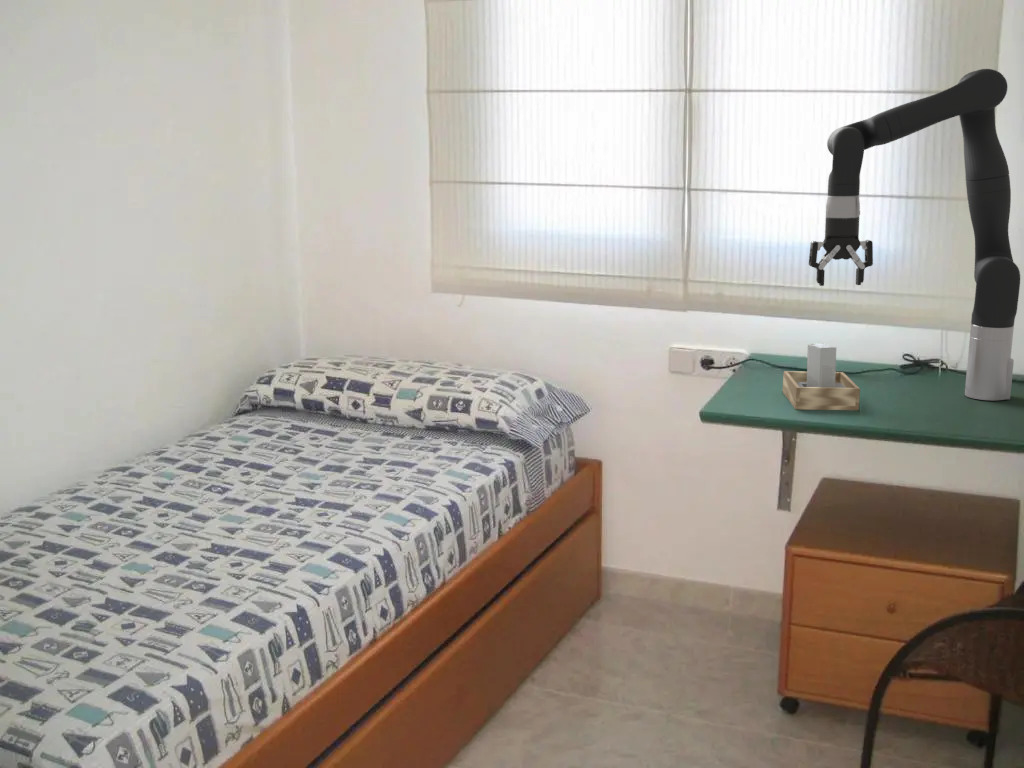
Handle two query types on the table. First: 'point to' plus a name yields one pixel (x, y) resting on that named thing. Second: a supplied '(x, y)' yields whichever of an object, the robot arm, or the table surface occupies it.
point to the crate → (820, 393)
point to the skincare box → (821, 365)
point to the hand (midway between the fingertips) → (839, 285)
